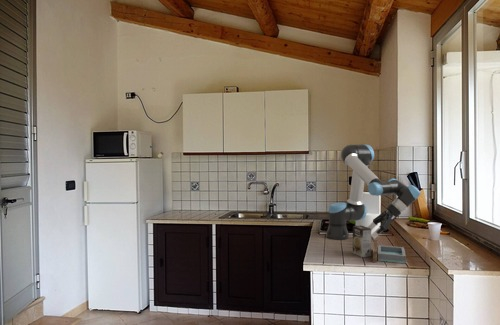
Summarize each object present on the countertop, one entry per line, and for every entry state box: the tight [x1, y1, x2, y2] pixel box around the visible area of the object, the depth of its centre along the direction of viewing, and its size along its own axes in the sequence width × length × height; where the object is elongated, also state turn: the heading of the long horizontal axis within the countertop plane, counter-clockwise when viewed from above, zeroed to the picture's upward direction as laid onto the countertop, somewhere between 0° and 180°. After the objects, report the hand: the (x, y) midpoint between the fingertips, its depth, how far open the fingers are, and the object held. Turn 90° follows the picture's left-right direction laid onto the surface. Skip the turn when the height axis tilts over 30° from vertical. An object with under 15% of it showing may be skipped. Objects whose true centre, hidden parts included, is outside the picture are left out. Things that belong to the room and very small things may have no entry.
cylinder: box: [355, 191, 382, 234], centre depth 257 cm, size 17×17×28 cm
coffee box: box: [352, 225, 372, 258], centre depth 203 cm, size 9×6×16 cm
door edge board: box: [372, 239, 379, 263], centre depth 201 cm, size 2×24×6 cm, turn 159°
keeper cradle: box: [377, 244, 407, 264], centre depth 198 cm, size 14×17×4 cm
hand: (369, 234), depth 201 cm, fingers open, 13 cm apart
